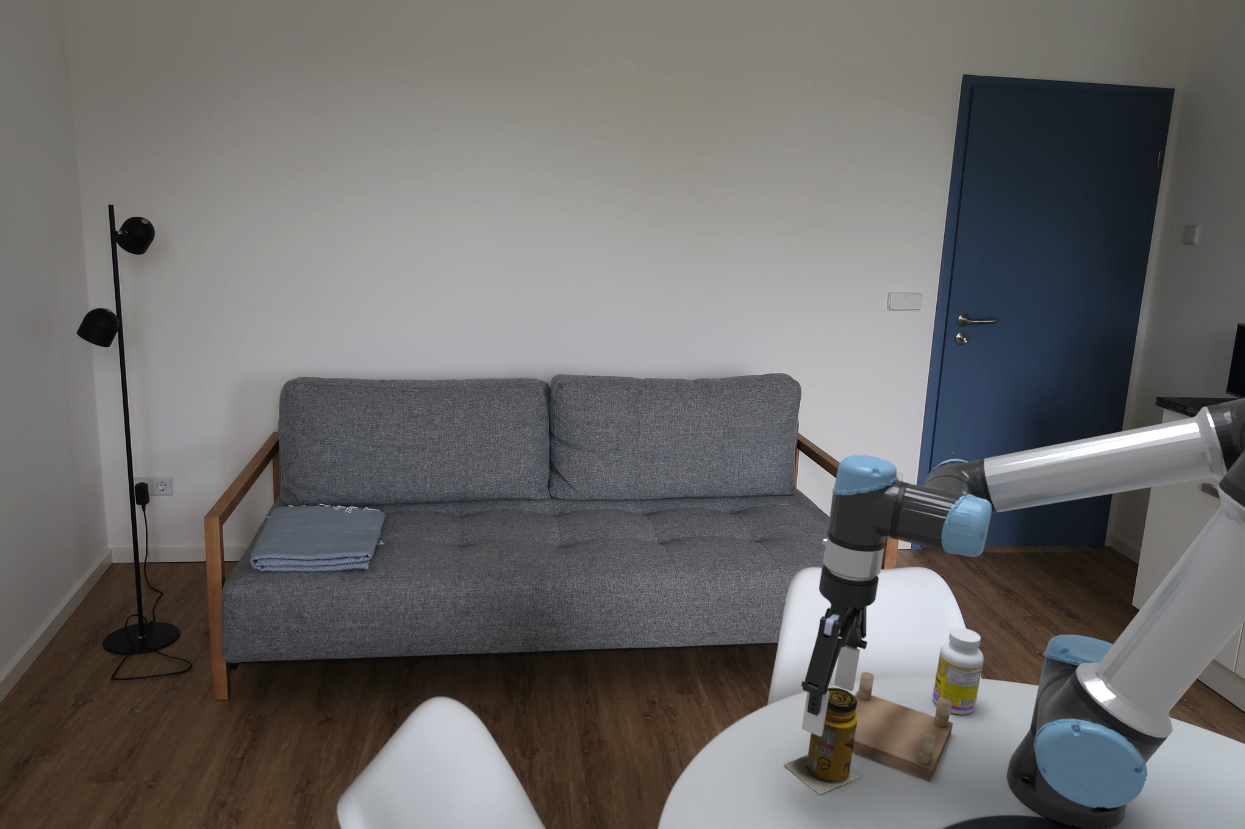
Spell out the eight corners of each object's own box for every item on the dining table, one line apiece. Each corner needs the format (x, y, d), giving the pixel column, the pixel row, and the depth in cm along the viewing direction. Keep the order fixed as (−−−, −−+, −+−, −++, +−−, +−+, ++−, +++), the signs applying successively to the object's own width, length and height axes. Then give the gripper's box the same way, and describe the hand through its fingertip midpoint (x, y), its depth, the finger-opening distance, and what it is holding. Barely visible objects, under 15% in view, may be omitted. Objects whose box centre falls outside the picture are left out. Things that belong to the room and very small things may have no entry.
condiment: (862, 776, 127) (873, 702, 124) (820, 796, 122) (830, 719, 119) (825, 749, 132) (835, 677, 129) (783, 766, 128) (792, 692, 125)
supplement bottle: (936, 689, 151) (948, 620, 148) (977, 702, 148) (990, 632, 144) (928, 707, 145) (940, 636, 142) (970, 721, 142) (983, 649, 139)
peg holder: (950, 734, 138) (957, 700, 137) (930, 781, 126) (936, 744, 125) (856, 701, 145) (861, 668, 144) (828, 743, 134) (833, 708, 132)
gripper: (851, 535, 132) (831, 662, 137) (790, 593, 111) (770, 741, 116) (902, 548, 128) (879, 679, 133) (849, 612, 107) (825, 764, 113)
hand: (828, 708), depth 125 cm, fingers open, 13 cm apart
